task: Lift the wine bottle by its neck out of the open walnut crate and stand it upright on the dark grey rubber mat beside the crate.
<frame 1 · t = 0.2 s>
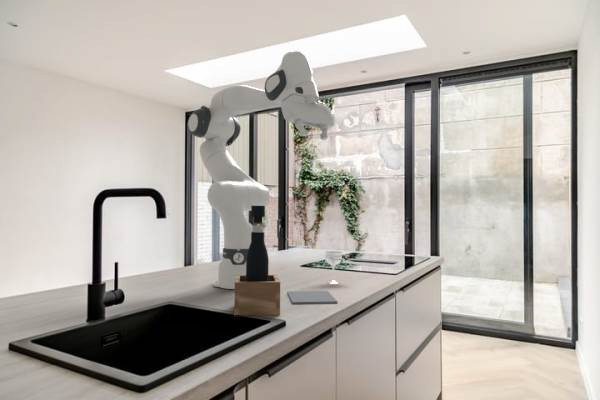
hand: (314, 137, 128), 52 cm above the worktop, tool tilted 20°, fingers open, 8 cm apart
walnut crate: (256, 309, 119), on the worktop
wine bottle: (256, 310, 119), resting in walnut crate
wineglass: (333, 282, 163), on the worktop
grey mat: (311, 297, 135), on the worktop
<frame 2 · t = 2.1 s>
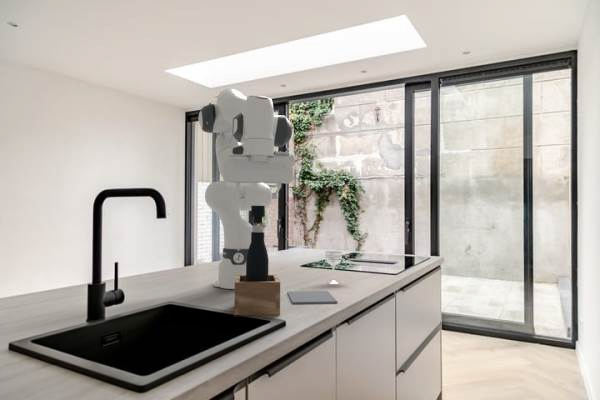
hand: (258, 198, 119), 32 cm above the worktop, tool pointing down, fingers open, 8 cm apart
nothing on the worktop moved.
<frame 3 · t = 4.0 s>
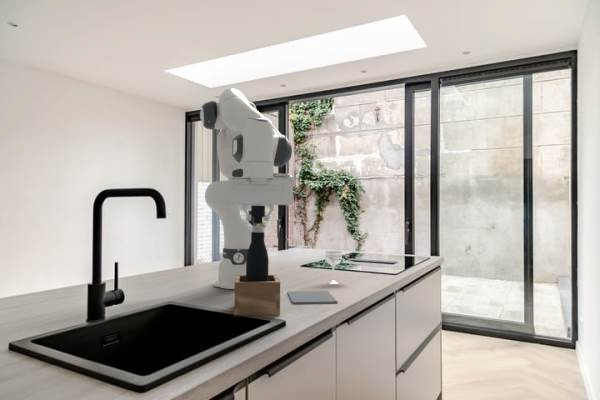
hand: (257, 220, 119), 26 cm above the worktop, tool pointing down, fingers closed on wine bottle, 4 cm apart
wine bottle: (256, 310, 119), resting in walnut crate, touching gripper
everything else where it was.
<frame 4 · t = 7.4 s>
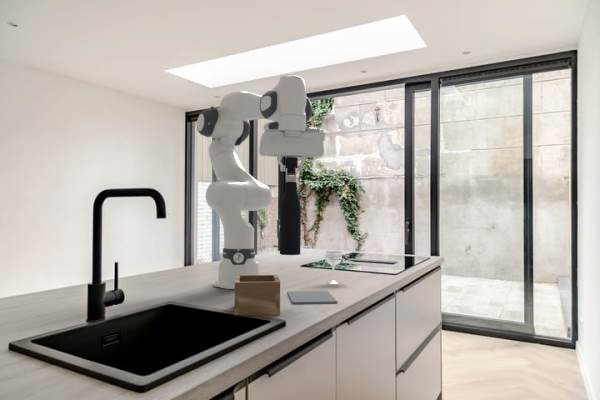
hand: (291, 171, 129), 41 cm above the worktop, tool pointing down, fingers closed on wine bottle, 4 cm apart
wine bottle: (290, 254, 128), point 15 cm above the worktop, touching gripper
everything else where it was.
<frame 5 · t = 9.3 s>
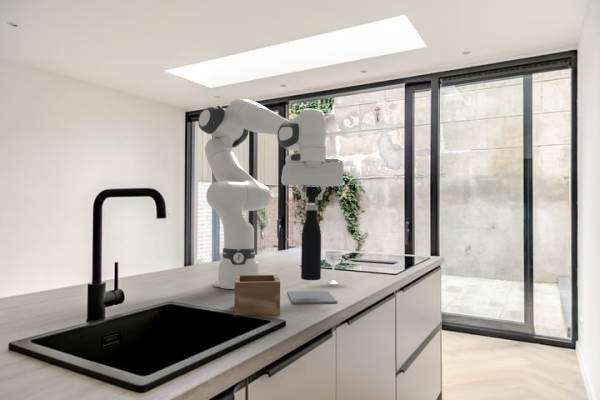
hand: (311, 199, 135), 32 cm above the worktop, tool pointing down, fingers closed on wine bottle, 4 cm apart
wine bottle: (310, 279, 134), point 6 cm above the worktop, touching gripper
everything else where it was.
when the fingers open (28 cm above the worktop, at t = 10.7 s): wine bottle drops 1 cm, resting on grey mat.
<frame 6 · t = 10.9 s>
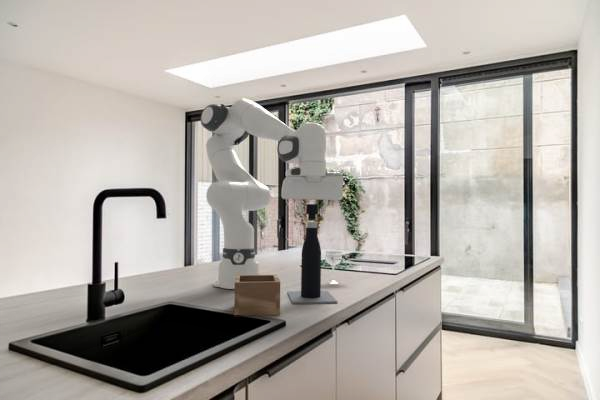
hand: (311, 213, 135), 28 cm above the worktop, tool pointing down, fingers open, 5 cm apart
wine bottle: (310, 296, 134), resting on grey mat
everything else where it was.
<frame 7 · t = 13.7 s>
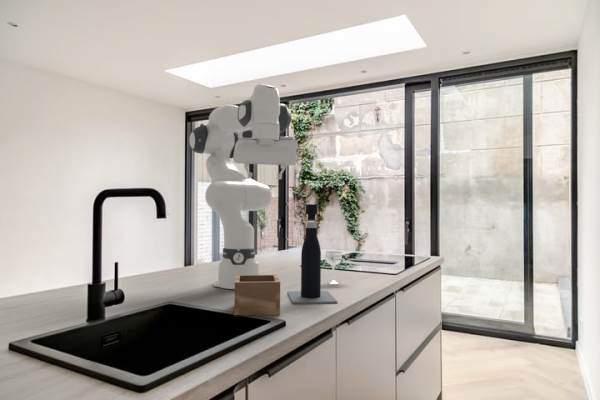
hand: (264, 178, 132), 39 cm above the worktop, tool pointing down, fingers open, 8 cm apart
nothing on the worktop moved.
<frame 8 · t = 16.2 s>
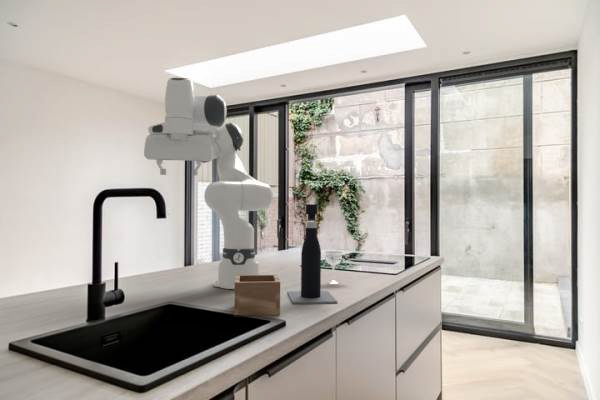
hand: (179, 175, 126), 39 cm above the worktop, tool pointing down, fingers open, 8 cm apart
nothing on the worktop moved.
at the end: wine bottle inside the target area on the grey mat (0.4 cm from its centre), point 0.4 cm above the grey mat's base; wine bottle tilted 0°; the gripper is holding nothing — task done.
